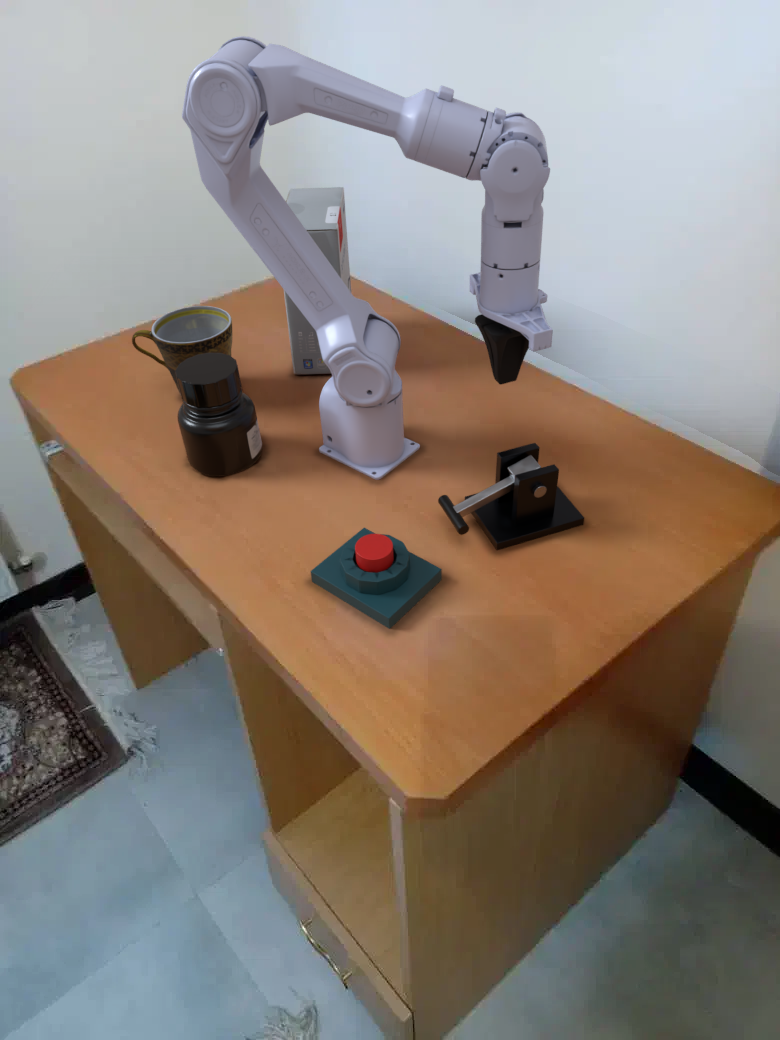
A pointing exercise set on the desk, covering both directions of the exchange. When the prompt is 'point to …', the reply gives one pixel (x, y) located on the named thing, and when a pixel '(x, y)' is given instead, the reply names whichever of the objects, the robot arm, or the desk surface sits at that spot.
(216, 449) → the ink bottle
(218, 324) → the ceramic cup
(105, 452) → the desk surface
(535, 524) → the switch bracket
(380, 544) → the power button
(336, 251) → the hard drive box
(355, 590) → the button box
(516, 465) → the switch lever
